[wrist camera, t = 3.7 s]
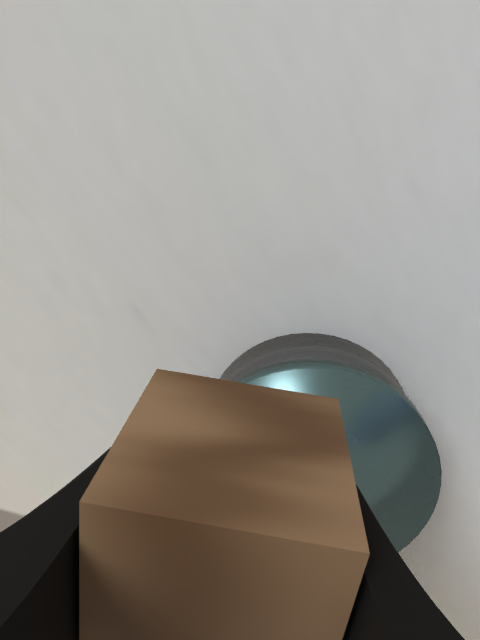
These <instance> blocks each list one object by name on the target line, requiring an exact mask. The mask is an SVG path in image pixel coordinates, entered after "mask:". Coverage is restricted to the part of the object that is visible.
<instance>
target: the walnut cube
mask: <svg viewBox="0 0 480 640" xmlns="http://www.w3.org/2000/svg"><path fill="white" fill-rule="evenodd" d="M369 555H370V552H369V547H368V542H367V537H366V532H365V527H364V523H363V518H362V513H361V508H360V503H359V498H358V493H357V488H356V483H355V478H354V473H353V469H352V464H351V459H350V454H349V449H348V444H347V439H346V434H345V429H344V424H343V420H342V415H341V410H340V405H339V400H338V399H337V398H330V397H324V396H318V395H312V394H306V393H300V392H294V391H288V390H282V389H276V388H270V387H264V386H258V385H252V384H246V383H240V382H233V381H227V380H221V379H215V378H209V377H203V376H197V375H191V374H185V373H179V372H173V371H167V370H161V369H157V370H156V372H155V373H154V375H153V377H152V378H151V380H150V382H149V384H148V385H147V387H146V389H145V390H144V392H143V394H142V396H141V397H140V399H139V401H138V402H137V404H136V406H135V408H134V409H133V411H132V413H131V414H130V416H129V418H128V419H127V421H126V423H125V425H124V426H123V428H122V430H121V431H120V433H119V435H118V437H117V438H116V440H115V442H114V443H113V445H112V447H111V448H110V450H109V452H108V454H107V455H106V457H105V459H104V460H103V462H102V464H101V466H100V467H99V469H98V471H97V472H96V474H95V476H94V477H93V479H92V481H91V483H90V484H89V486H88V488H87V489H86V491H85V493H84V495H83V496H82V498H81V500H80V501H79V640H342V639H343V635H344V632H345V629H346V626H347V623H348V620H349V617H350V614H351V611H352V608H353V604H354V601H355V598H356V595H357V592H358V589H359V586H360V583H361V580H362V577H363V573H364V570H365V567H366V564H367V561H368V558H369Z"/></svg>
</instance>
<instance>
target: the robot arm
mask: <svg viewBox="0 0 480 640" xmlns="http://www.w3.org/2000/svg"><path fill="white" fill-rule="evenodd" d="M109 450H110V448H109V449H108V450H107V451H106V452H105V453H104V454H103V455H101V456H100V457H99V458H98V459H97V460H96V461H95V462H94V463H92V464H91V465H90V466H89V467H88V468H87V469H85V470H84V471H83V472H82V473H81V474H79V475H78V476H77V477H76V478H74V479H73V480H72V481H71V482H70V483H68V484H67V485H66V486H65V487H63V488H62V489H61V490H60V491H58V492H57V493H56V494H54V495H53V496H52V497H50V498H49V499H48V500H46V501H45V502H44V503H42V504H41V505H40V506H38V507H37V508H35V509H34V510H33V511H31V512H30V513H29V514H27V515H26V516H24V517H23V518H22V519H20V520H18V521H17V522H16V523H14V524H13V525H11V526H10V527H8V528H7V529H5V530H4V531H2V532H0V640H79V501H80V500H81V498H82V496H83V495H84V493H85V491H86V489H87V488H88V486H89V484H90V483H91V481H92V479H93V477H94V476H95V474H96V472H97V471H98V469H99V467H100V466H101V464H102V462H103V460H104V459H105V457H106V455H107V454H108V452H109ZM356 488H357V493H358V498H359V503H360V508H361V513H362V518H363V523H364V527H365V532H366V537H367V542H368V547H369V552H370V555H369V558H368V561H367V564H366V567H365V570H364V573H363V577H362V580H361V583H360V586H359V589H358V592H357V595H356V598H355V601H354V604H353V608H352V611H351V614H350V617H349V620H348V623H347V626H346V629H345V632H344V635H343V639H342V640H465V639H464V638H463V637H462V636H461V635H460V634H459V633H458V632H457V630H456V629H455V628H454V627H453V626H452V624H451V623H450V622H449V621H448V619H447V618H446V617H445V616H444V615H443V613H442V612H441V611H440V610H439V609H438V607H437V606H436V605H435V604H434V602H433V601H432V600H431V599H430V597H429V596H428V595H427V593H426V592H425V591H424V589H423V588H422V586H421V585H420V584H419V582H418V581H417V580H416V578H415V577H414V575H413V574H412V573H411V571H410V570H409V568H408V567H407V565H406V564H405V562H404V561H403V560H402V558H401V557H400V555H399V553H398V552H397V550H396V549H395V547H394V546H393V544H392V543H391V541H390V540H389V538H388V537H387V535H386V533H385V532H384V530H383V529H382V527H381V525H380V524H379V522H378V520H377V519H376V517H375V515H374V514H373V512H372V510H371V508H370V507H369V505H368V503H367V502H366V500H365V498H364V496H363V495H362V493H361V491H360V489H359V488H358V486H357V485H356Z"/></svg>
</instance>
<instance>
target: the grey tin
mask: <svg viewBox="0 0 480 640" xmlns="http://www.w3.org/2000/svg"><path fill="white" fill-rule="evenodd" d="M220 379H221V380H227V381H233V382H240V383H246V384H252V385H258V386H264V387H270V388H276V389H282V390H288V391H294V392H300V393H306V394H312V395H318V396H324V397H330V398H337V399H338V400H339V405H340V410H341V415H342V420H343V424H344V429H345V434H346V439H347V444H348V449H349V454H350V459H351V464H352V469H353V473H354V478H355V483H356V485H357V486H358V488H359V489H360V491H361V493H362V495H363V496H364V498H365V500H366V502H367V503H368V505H369V507H370V508H371V510H372V512H373V514H374V515H375V517H376V519H377V520H378V522H379V524H380V525H381V527H382V529H383V530H384V532H385V533H386V535H387V537H388V538H389V540H390V541H391V543H392V544H393V546H394V547H395V549H396V550H397V552H399V551H400V550H402V549H403V548H404V547H406V546H407V545H408V544H409V543H410V542H411V541H412V540H413V539H414V538H415V537H416V536H417V535H418V534H419V533H420V532H421V530H422V529H423V528H424V526H425V525H426V524H427V522H428V520H429V518H430V517H431V515H432V513H433V511H434V509H435V506H436V503H437V500H438V497H439V492H440V487H441V464H440V457H439V454H438V450H437V447H436V444H435V441H434V439H433V437H432V435H431V433H430V431H429V429H428V427H427V426H426V424H425V422H424V420H423V418H422V416H421V415H420V413H419V412H418V410H417V409H416V408H415V406H414V405H413V404H412V403H411V402H410V400H409V399H408V398H407V397H406V396H405V394H404V392H403V390H402V388H401V386H400V384H399V382H398V380H397V379H396V377H395V376H394V374H393V373H392V372H391V370H390V369H389V368H388V367H387V366H386V365H385V364H384V363H383V362H382V361H381V360H380V359H379V358H378V357H376V356H375V355H374V354H373V353H371V352H370V351H368V350H366V349H365V348H363V347H361V346H360V345H357V344H355V343H353V342H351V341H348V340H345V339H342V338H339V337H335V336H330V335H324V334H314V333H301V334H290V335H285V336H280V337H276V338H273V339H270V340H267V341H265V342H263V343H260V344H258V345H256V346H254V347H252V348H251V349H249V350H248V351H246V352H245V353H243V354H242V355H241V356H239V357H238V358H237V359H236V360H235V361H234V362H233V363H232V364H231V365H230V366H229V367H228V368H227V369H226V370H225V372H224V373H223V375H222V376H221V378H220Z"/></svg>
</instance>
